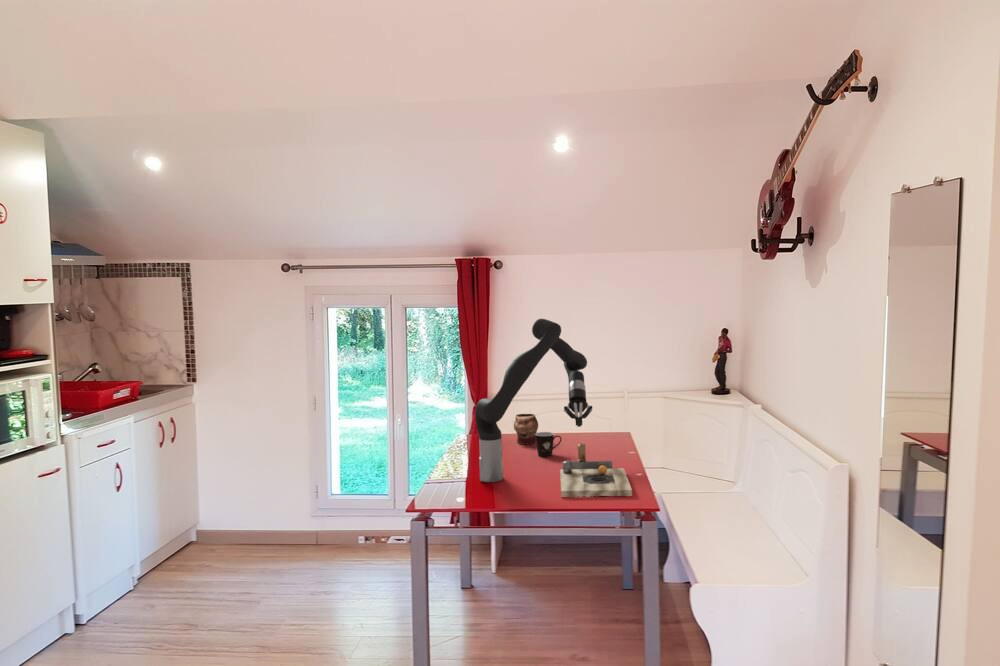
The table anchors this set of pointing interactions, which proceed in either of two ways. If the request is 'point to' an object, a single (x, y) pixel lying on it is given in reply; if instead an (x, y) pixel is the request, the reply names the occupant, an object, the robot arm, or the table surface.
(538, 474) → the table surface
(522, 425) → the decorative planter
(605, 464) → the catapult lever
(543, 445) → the coffee mug
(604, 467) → the ball
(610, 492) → the board
